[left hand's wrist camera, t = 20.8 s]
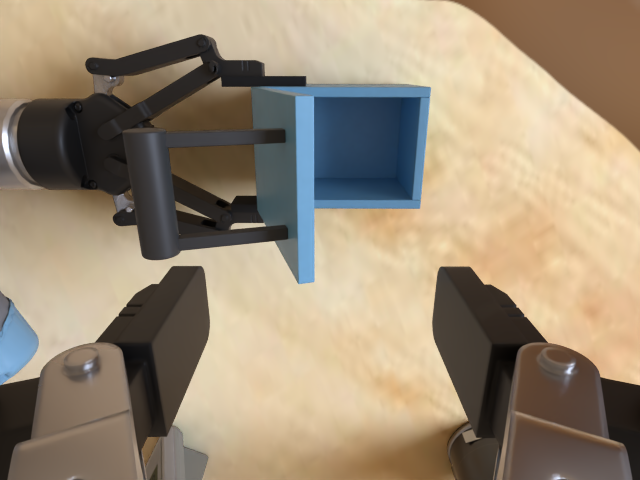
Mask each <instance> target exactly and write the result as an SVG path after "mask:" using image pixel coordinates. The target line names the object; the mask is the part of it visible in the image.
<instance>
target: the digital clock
mask: <svg viewBox="0 0 640 480" xmlns="http://www.w3.org/2000/svg"><path fill="white" fill-rule="evenodd" d="M207 460H208V456H207V455H205V454H202V453H199V452H196V451H194V450H191V449H188V448H185V447H183V435H182V432H181V431H180V429H179V428H177V427H175V426H171V428H170V431H169V433H168V436H167V437H160V438H159V439H158V441H157V444H156V446H155V448H154V450H153V452H152V454H151V456H150V458H149V460H148V462H147V464H146V466H145V470H146V477H147V480H202V478H203V474H204V471H205V467H206V464H207Z"/></svg>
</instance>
